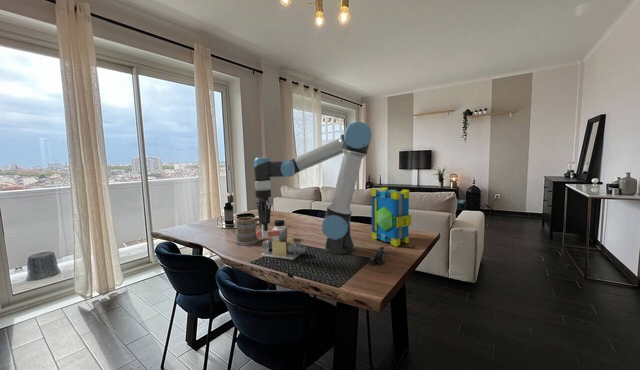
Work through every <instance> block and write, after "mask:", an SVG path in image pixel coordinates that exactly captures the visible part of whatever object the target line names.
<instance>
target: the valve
mask: <svg viewBox="0 0 640 370" xmlns="http://www.w3.org/2000/svg"><path fill="white" fill-rule="evenodd" d="M261 248H262V249H263V250H265V251H263V252H261V253H260V254H261V256H262V257H270V258H278V259H285V260H292V261H294V260H295V259H296V258H298V257H299V256H300V255H304V254H305V253H306V248H307V247H306V245H305V244H302V243H301V242H299V241H296V242H295V239H294V237H287V239H286V240H279V238H277V239H275V240H272V239H271V238H270V239H269V238H268V239H267V240H266V239H265V240H263V241H262V243H261Z"/></svg>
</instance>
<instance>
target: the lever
mask: <svg viewBox="0 0 640 370" xmlns="http://www.w3.org/2000/svg"><path fill="white" fill-rule="evenodd" d="M272 236H279V240H286V239H287V238H288V229H287V230H286V229H281V230H272V229H271V230H270V229H268V237H272ZM256 237H257V238H263V237H262V231H261V230H256ZM268 237H267V238H268Z"/></svg>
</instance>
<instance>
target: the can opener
mask: <svg viewBox="0 0 640 370" xmlns="http://www.w3.org/2000/svg"><path fill="white" fill-rule="evenodd" d="M384 250H385V246H381V247H379V248H377V251H376V253H375V255H374V256H371V257H370V258H369V263H370V264H378V265H381V264H382V265H383V264H384V263H385V257H386V252H385V251H384Z"/></svg>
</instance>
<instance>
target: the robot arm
mask: <svg viewBox="0 0 640 370" xmlns="http://www.w3.org/2000/svg"><path fill="white" fill-rule="evenodd" d="M372 135H373V134H372V130H371V128H370V126H369V125H368V124H366V123H364V122H362V121H353V122H351V123H350V124H348V125H347V126H346V128H345V129H344V132H343V134H341V135H340V136H339V138H337V139H335V140H332V141H330V142H328V143H326V144H324V145H322V146H319V147H317V148H315V149H312V150H310V151H308V152H306V153H304V154H301V155H299V156H296V157H295V158H291V159H289V160H281V161H271V159H270V158H269V157H256V158H254V160H253V170H254V171H253V173H254V184H253V185H254V189H255V191H254V192H255V195H254V196H255V198H256V199H258V202H256V207H257V213H258V218H259V221H260V222H261V224H262V237H261V238H268V230H269V224H270V223H271V214H272V213H271V210H272V204H271V203H270V201H269V200H270V199H269V198H271V197H272V190H271V187H272V182H271V178H287V177H288V178H289V177H294V176H295V175H296V174H298V173H300V172H302V171H304V170H307V169H309V168H311V167H314V166H316V165H318V164H320V163H323V162H326V161H328V160H329V159H333V158H335V157H337V156H340V155H341V154H343V156H342V160H341V164H340V169H339V173H338V176H337V180H336V181H337V182H336V184H335V188H334V193H333V196H332V200H331V203H330V204H329V205H327V208H326V211H325V215H324V219H323V220H322V222H321V230H322V233H323V234H324V235H325V236H326V241H325V246H324V249H325V252H326V253H329V254H334V255H346V254H350V253H353V252H354V250H355V246H354V242H353V239H352V236H351V217H352V214H353V213H352V211H351V204H352V200H353V196H354V192H355V188H356V183H357V180H358V176H359V172H360V169H361V164H362V161H363V159H364V158H365V157H367V154H368V151H369V147H370V143H371V140H372V137H373V136H372ZM259 221H258V222H259Z"/></svg>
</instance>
